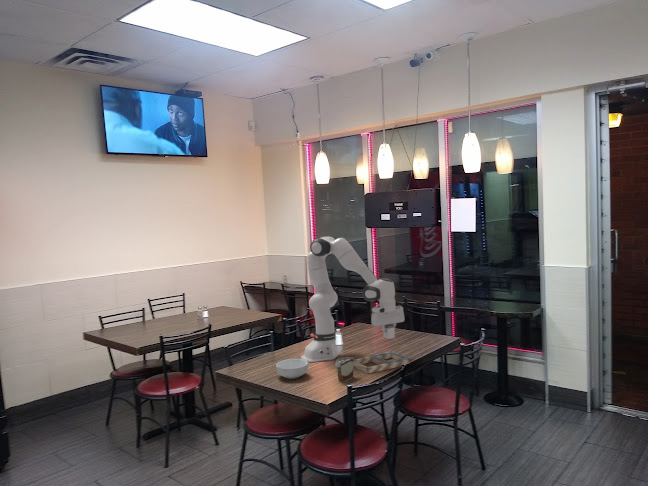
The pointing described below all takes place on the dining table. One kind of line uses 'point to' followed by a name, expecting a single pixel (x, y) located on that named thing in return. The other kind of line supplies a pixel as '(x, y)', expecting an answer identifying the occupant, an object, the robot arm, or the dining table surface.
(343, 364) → the food container
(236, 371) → the dining table surface
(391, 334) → the plug block
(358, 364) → the divider frame
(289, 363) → the cereal bowl
